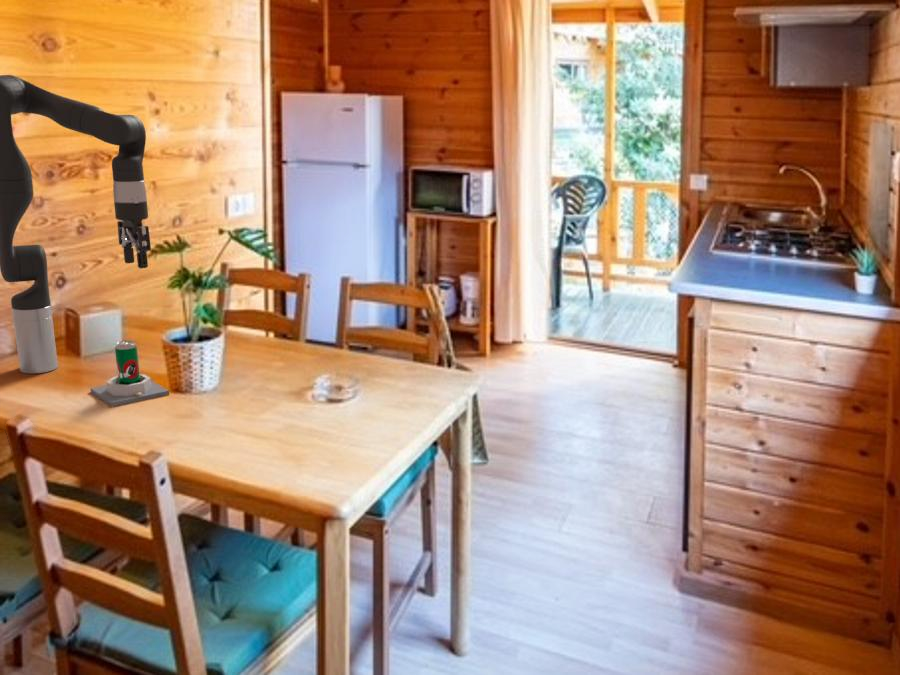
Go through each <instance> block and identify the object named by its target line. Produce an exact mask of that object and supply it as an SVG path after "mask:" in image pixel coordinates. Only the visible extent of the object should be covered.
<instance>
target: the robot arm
mask: <svg viewBox="0 0 900 675" xmlns="http://www.w3.org/2000/svg"><path fill="white" fill-rule="evenodd" d="M19 113H21V114H22V113H23V114H24V113H25V114H33V115H40V116H43V117H46V118H48V119H50V120H52V121H53V122H55V123H56V124H58V125H59V126H62V127H63V128H65V129H69V130H71V131H74V132H78V133H81V134H84V135H88V136H92V137H94V138H96V139H97V140H99V141H102V142H104V143H107V144H110V145H114V146H118V153H117V155H116V156H114V157H113V158H112V160H111V170H112V180H113V181H112V182H113V185H112V186H113V187H112V193H113V204H114V205H113V206H114V214H115V216H114V217H115V219H116V220H118V221H117V223H116V224H117V235H118V236H117V237H118V244H119V245H121V247H122V249H123V260H124V263H125V264H133V263H134V262H135V255H134V251H135V250H136V261H137V262H136V263H137V267H138V269H147V268H148V267H149V265H148V252H151V250H152V248H151V238H150V229H149V226H148V225H143V222H142V221H144V220H147V219H148V218H149V212H148V211H149V210H148V198H147V190H146V185H145V176H144V167H143V161H144V160H143V159H144V155H145V148H146V140H147V138H146V137H147V136H146V135H147V134H146V132H147V131H146V128H145V125H144V123H143V122H142V120H141V118H139V117H138V116H136V115H133V114H116V113H109V112H107V111H104V110H103V109H102V108H100V107H98V106H95V105H92V104H89V103H86V102H82V101H79V100H76V99H73V98H72V99H71V98H68V97H65V96H62V95H59V94H56V93H54V92H51V91H49V90H46V89H44V88H41V87H40V86H37V85H35V84H33V83H31V82H29V81H28V80H25V79H22V78H20V77H18V76H16V75H11V74H4V75H0V273H1V277H2V278H3V280H4V281H5V282H6V283H20V282H21V283H23V282H33V281H34V282H33V284H32V285H31V286H30V287H29V288H26V289H25V290H24V291H21V292H18V293H17V294H14V295H13V296H12V297H11V299H10V305H11V311H12V318H13V326H14V334H15V341H16V348H17V349H16V350H17V355H18V356H17V358H18V366H19V372H20V373H23V374H32V375H33V374H43V373H47V372H51V371H54V370H57V369H58V367H59V366H58V365H59V364H58V356H57V348H56V346H57V345H56V339H55V338H56V337H55V330H54V322H53V313H52V305H51V304H52V303H51V298H50V288H49V287H50V286H49V277H48V276H49V273H48V258H47V253H46V250H45V249H44V247H43V246H42V245H40V244H27V245H26V244H25V245H24V244H23V245H13V243H14V238H15V237H14V236H15V234H16V230H17V229H18V228H17V227H18V225H19V224H20V222H21V220H22V218H23V216H24V215H25V214H26V212H27V210H28V209H29V207H30V205H31V203H32V201H33V198H34V185H33V184H34V183H33V176H32V170H31V166H30V164H29V162H28V159H26V157H25V156H24V154H23V152H22V151H21V149H20V147H19V146H18V144H17V141H16V140H15V136H14V132H13V125H12V115H17V114H19ZM134 248H135V250H134Z"/></svg>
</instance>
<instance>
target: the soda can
mask: <svg viewBox="0 0 900 675" xmlns="http://www.w3.org/2000/svg"><path fill="white" fill-rule="evenodd" d="M115 343H116V344H115V345H116V346H115V347H114V353H115V364H116V371H117V372H116V374H117V376H118V384H122V385H129V384H134V383H139V382H140V374H141V373H140V364H139V352H138V345H137V344H136V341H134V340H121V341H118V342H115Z"/></svg>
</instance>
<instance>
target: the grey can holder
mask: <svg viewBox="0 0 900 675" xmlns="http://www.w3.org/2000/svg"><path fill="white" fill-rule="evenodd" d="M90 393H92V394H93V395H95V396H96V397H97V398H99V399H100V400H102V401H103V402H104V403H106V404H107V405H108V406H110V407H111V408H113V407H117V406H122V405H128V404H132V403H137V402H141V401H146V400H149V399H155V398H159V397H164V396H168V395H170V392H169V390H168V389H166V388H165V387H163V386H161V385H160V384H158V383H156V382H155V381H153V380H151V377H150V376H148V375H147V374H145V373H140V382H139V383H134V384H129V385H122V384H118V375H116V376H113V377H111V378H109V379H108V380H107V381H106V384H105V385H101V386H100V385H99V386H95V387H90Z"/></svg>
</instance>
